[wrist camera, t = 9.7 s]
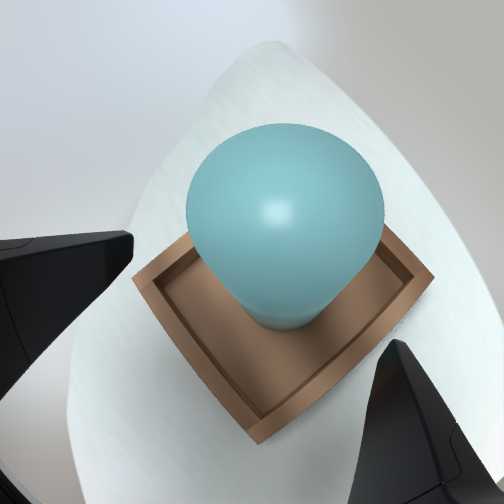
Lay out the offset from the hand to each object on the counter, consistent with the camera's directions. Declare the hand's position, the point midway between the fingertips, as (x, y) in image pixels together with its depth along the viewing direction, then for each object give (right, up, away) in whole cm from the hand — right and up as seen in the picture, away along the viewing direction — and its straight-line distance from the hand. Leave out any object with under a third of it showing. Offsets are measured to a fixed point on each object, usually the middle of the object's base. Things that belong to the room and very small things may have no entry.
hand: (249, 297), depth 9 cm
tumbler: (+2, -1, +11) cm, 12 cm away
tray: (+2, -2, +12) cm, 13 cm away
